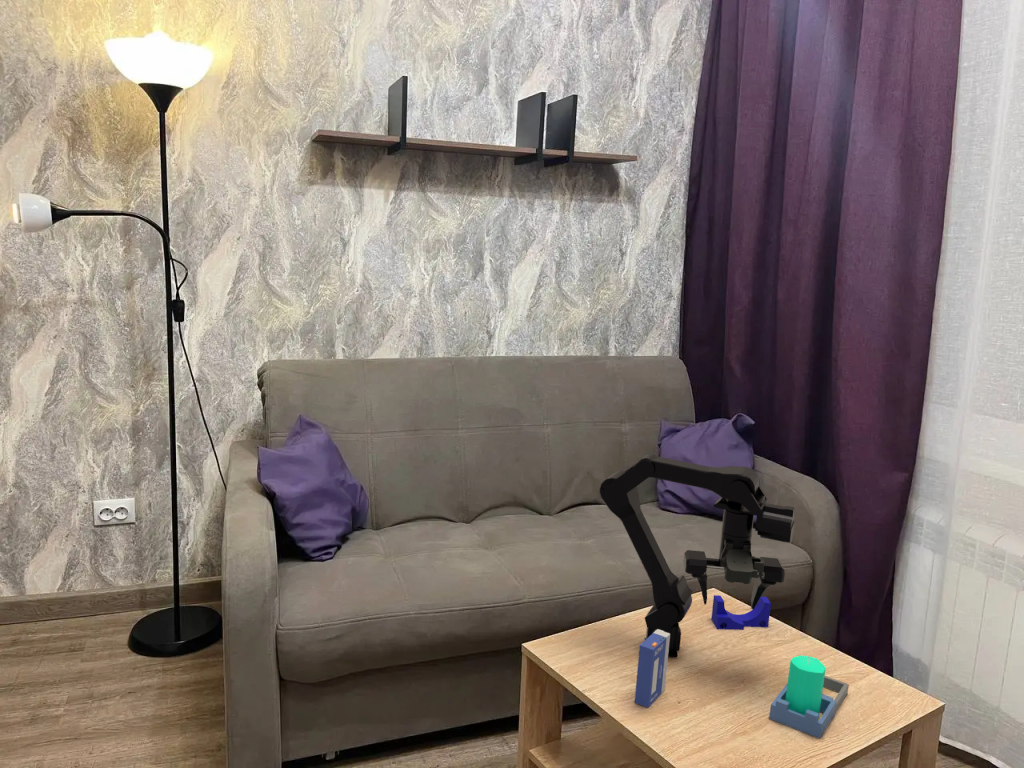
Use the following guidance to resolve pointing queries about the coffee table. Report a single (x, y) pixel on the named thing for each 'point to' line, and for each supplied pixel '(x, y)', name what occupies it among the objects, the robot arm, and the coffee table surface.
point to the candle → (805, 684)
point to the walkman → (652, 668)
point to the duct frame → (810, 719)
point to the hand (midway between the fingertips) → (728, 606)
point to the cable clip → (738, 622)
